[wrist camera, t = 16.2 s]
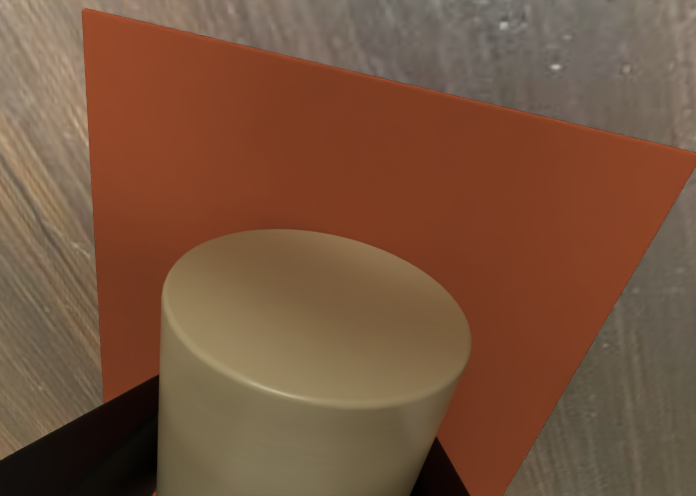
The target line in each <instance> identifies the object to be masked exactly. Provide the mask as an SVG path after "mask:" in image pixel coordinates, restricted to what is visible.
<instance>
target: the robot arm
mask: <svg viewBox="0 0 696 496" xmlns="http://www.w3.org/2000/svg"><path fill="white" fill-rule="evenodd" d="M158 411H159V374H158V375H156V376H154V377H152V378H150V379H149V380H147V381H145V382H143V383H141V384H139V385H138V386H136V387H134V388H132V389H130V390H128V391H127V392H125V393H123V394H121V395H119V396H117V397H116V398H114V399H112V400H110V401H108V402H106V403H105V404H103V405H101V406H99V407H97V408H95V409H94V410H92V411H90V412H88V413H86V414H84V415H83V416H81V417H79V418H77V419H75V420H73V421H72V422H70V423H68V424H66V425H64V426H62V427H61V428H59V429H57V430H55V431H53V432H51V433H50V434H48V435H46V436H44V437H42V438H40V439H39V440H37V441H35V442H33V443H31V444H29V445H28V446H26V447H24V448H22V449H20V450H18V451H17V452H15V453H13V454H11V455H9V456H7V457H6V458H4V459H2V460H0V496H152V495H153V493H154V492H155V490H156V489H157V452H158ZM410 496H470V494H469V492H468V490H467V489H466V487H465V485H464V483H463V482H462V480H461V478H460V476H459V475H458V473H457V471H456V469H455V467H454V466H453V464H452V462H451V460H450V459H449V457H448V455H447V453H446V452H445V450H444V448H443V446H442V445H441V443H440V441H439V439H438V438H437V436H436V437H435V439H434V442H433V444H432V446H431V449H430V451H429V453H428V455H427V458H426V460H425V462H424V465H423V467H422V469H421V472H420V474H419V476H418V478H417V481H416V483H415V485H414V488H413V490H412V492H411V494H410Z"/></svg>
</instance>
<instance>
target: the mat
mask: <svg viewBox="0 0 696 496" xmlns="http://www.w3.org/2000/svg"><path fill="white" fill-rule="evenodd" d="M82 24H83V42H84V60H85V77H86V95H87V113H88V130H89V148H90V166H91V183H92V201H93V219H94V237H95V254H96V272H97V290H98V307H99V325H100V343H101V360H102V378H103V396H104V404H105V403H106V402H108V401H110V400H112V399H114V398H116V397H117V396H119V395H121V394H123V393H125V392H127V391H128V390H130V389H132V388H134V387H136V386H138V385H139V384H141V383H143V382H145V381H147V380H149V379H150V378H152V377H154V376H156V375H158V374H159V371H160V330H161V296H162V289H163V284H164V282H165V280H166V277H167V275H168V273H169V271H170V270H171V268H172V267H173V266H174V264H175V263H176V262H177V261H178V260H179V259H180V258H181V257H182V256H183V255H184V254H185V253H187V252H188V251H190V250H191V249H193V248H194V247H196V246H198V245H200V244H202V243H204V242H206V241H209V240H212V239H214V238H217V237H220V236H224V235H228V234H232V233H237V232H243V231H251V230H262V229H292V230H304V231H313V232H320V233H325V234H331V235H336V236H340V237H344V238H348V239H352V240H355V241H359V242H362V243H365V244H368V245H371V246H373V247H376V248H379V249H381V250H384V251H386V252H388V253H391V254H393V255H395V256H397V257H399V258H401V259H403V260H405V261H407V262H409V263H410V264H412V265H414V266H415V267H417V268H419V269H420V270H422V271H423V272H425V273H426V274H428V275H429V276H430V277H432V278H433V279H434V280H435V281H437V282H438V283H439V284H440V285H441V286H442V287H443V288H444V289H445V290H446V291H448V292H449V293H450V295H451V296H452V297H453V298H454V299H455V301H456V302H457V303H458V305H459V306H460V308H461V309H462V311H463V312H464V314H465V317H466V319H467V321H468V324H469V328H470V332H471V354H470V357H469V361H468V364H467V366H466V368H465V371H464V373H463V375H462V378H461V380H460V382H459V384H458V387H457V389H456V391H455V394H454V396H453V398H452V400H451V403H450V405H449V407H448V410H447V412H446V414H445V417H444V419H443V421H442V423H441V426H440V428H439V430H438V433H437V435H436V436H437V438H438V439H439V441H440V443H441V445H442V446H443V448H444V450H445V452H446V453H447V455H448V457H449V459H450V460H451V462H452V464H453V466H454V467H455V469H456V471H457V473H458V475H459V476H460V478H461V480H462V482H463V483H464V485H465V487H466V489H467V490H468V492H469V494H470V496H503V494H504V493H505V491H506V489H507V487H508V486H509V484H510V482H511V481H512V479H513V477H514V476H515V474H516V472H517V470H518V469H519V467H520V465H521V464H522V462H523V460H524V458H525V457H526V455H527V453H528V452H529V450H530V448H531V447H532V445H533V443H534V441H535V440H536V438H537V436H538V435H539V433H540V431H541V429H542V428H543V426H544V424H545V423H546V421H547V419H548V418H549V416H550V414H551V412H552V411H553V409H554V407H555V406H556V404H557V402H558V400H559V399H560V397H561V395H562V394H563V392H564V390H565V388H566V387H567V385H568V383H569V382H570V380H571V378H572V377H573V375H574V373H575V371H576V370H577V368H578V366H579V365H580V363H581V361H582V359H583V358H584V356H585V354H586V353H587V351H588V349H589V348H590V346H591V344H592V342H593V341H594V339H595V337H596V336H597V334H598V332H599V330H600V329H601V327H602V325H603V324H604V322H605V320H606V319H607V317H608V315H609V313H610V312H611V310H612V308H613V307H614V305H615V303H616V301H617V300H618V298H619V296H620V295H621V293H622V291H623V290H624V288H625V286H626V284H627V283H628V281H629V279H630V278H631V276H632V274H633V272H634V271H635V269H636V267H637V266H638V264H639V262H640V261H641V259H642V257H643V255H644V254H645V252H646V250H647V249H648V247H649V245H650V243H651V242H652V240H653V238H654V237H655V235H656V233H657V232H658V230H659V228H660V226H661V225H662V223H663V221H664V220H665V218H666V216H667V214H668V213H669V211H670V209H671V208H672V206H673V204H674V202H675V201H676V199H677V197H678V196H679V194H680V192H681V191H682V189H683V187H684V185H685V184H686V182H687V180H688V179H689V177H690V175H691V173H692V172H693V170H694V168H695V167H696V152H692V151H688V150H683V149H679V148H675V147H671V146H666V145H662V144H658V143H654V142H649V141H645V140H641V139H637V138H633V137H628V136H624V135H620V134H616V133H611V132H607V131H603V130H599V129H595V128H590V127H586V126H582V125H578V124H573V123H569V122H565V121H561V120H557V119H552V118H548V117H544V116H540V115H535V114H531V113H527V112H523V111H519V110H514V109H510V108H506V107H502V106H497V105H493V104H489V103H485V102H480V101H476V100H472V99H468V98H464V97H459V96H455V95H451V94H447V93H442V92H438V91H434V90H430V89H426V88H421V87H417V86H413V85H409V84H404V83H400V82H396V81H392V80H388V79H383V78H379V77H375V76H371V75H366V74H362V73H358V72H354V71H349V70H345V69H341V68H337V67H333V66H328V65H324V64H320V63H316V62H311V61H307V60H303V59H299V58H295V57H290V56H286V55H282V54H278V53H273V52H269V51H265V50H261V49H257V48H252V47H248V46H244V45H240V44H235V43H231V42H227V41H223V40H218V39H214V38H210V37H206V36H202V35H197V34H193V33H189V32H185V31H180V30H176V29H172V28H168V27H164V26H159V25H155V24H151V23H147V22H142V21H138V20H134V19H130V18H126V17H121V16H117V15H113V14H109V13H104V12H100V11H96V10H92V9H87V8H86V9H83V10H82ZM156 492H157V489H156V490H155V492H154V493H153V495H152V496H156Z"/></svg>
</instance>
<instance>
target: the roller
mask: <svg viewBox="0 0 696 496" xmlns="http://www.w3.org/2000/svg"><path fill="white" fill-rule="evenodd" d="M470 354H471V332H470V328H469V324H468V321H467V319H466V317H465V314H464V312H463V311H462V309H461V308H460V306H459V305H458V303H457V302H456V301H455V299H454V298H453V297H452V296H451V295H450V293H449V292H448V291H446V290H445V289H444V288H443V287H442V286H441V285H440V284H439V283H438V282H437V281H435V280H434V279H433V278H432V277H430V276H429V275H428V274H426V273H425V272H423V271H422V270H420V269H419V268H417V267H415V266H414V265H412V264H410V263H409V262H407V261H405V260H403V259H401V258H399V257H397V256H395V255H393V254H391V253H388V252H386V251H384V250H381V249H379V248H376V247H373V246H371V245H368V244H365V243H362V242H359V241H355V240H352V239H348V238H344V237H340V236H336V235H331V234H325V233H320V232H313V231H304V230H292V229H262V230H251V231H243V232H237V233H232V234H228V235H224V236H220V237H217V238H214V239H212V240H209V241H206V242H204V243H202V244H200V245H198V246H196V247H194V248H193V249H191V250H190V251H188V252H187V253H185V254H184V255H183V256H182V257H181V258H180V259H179V260H178V261H177V262H176V263H175V264H174V266H173V267H172V268H171V270H170V271H169V273H168V275H167V277H166V280H165V282H164V284H163V289H162V296H161V330H160V371H159V411H158V452H157V492H156V496H410V494H411V492H412V490H413V488H414V485H415V483H416V481H417V478H418V476H419V474H420V472H421V469H422V467H423V465H424V462H425V460H426V458H427V455H428V453H429V451H430V449H431V446H432V444H433V442H434V439H435V437H436V435H437V433H438V430H439V428H440V426H441V423H442V421H443V419H444V417H445V414H446V412H447V410H448V407H449V405H450V403H451V400H452V398H453V396H454V394H455V391H456V389H457V387H458V384H459V382H460V380H461V378H462V375H463V373H464V371H465V368H466V366H467V364H468V361H469V357H470Z"/></svg>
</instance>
